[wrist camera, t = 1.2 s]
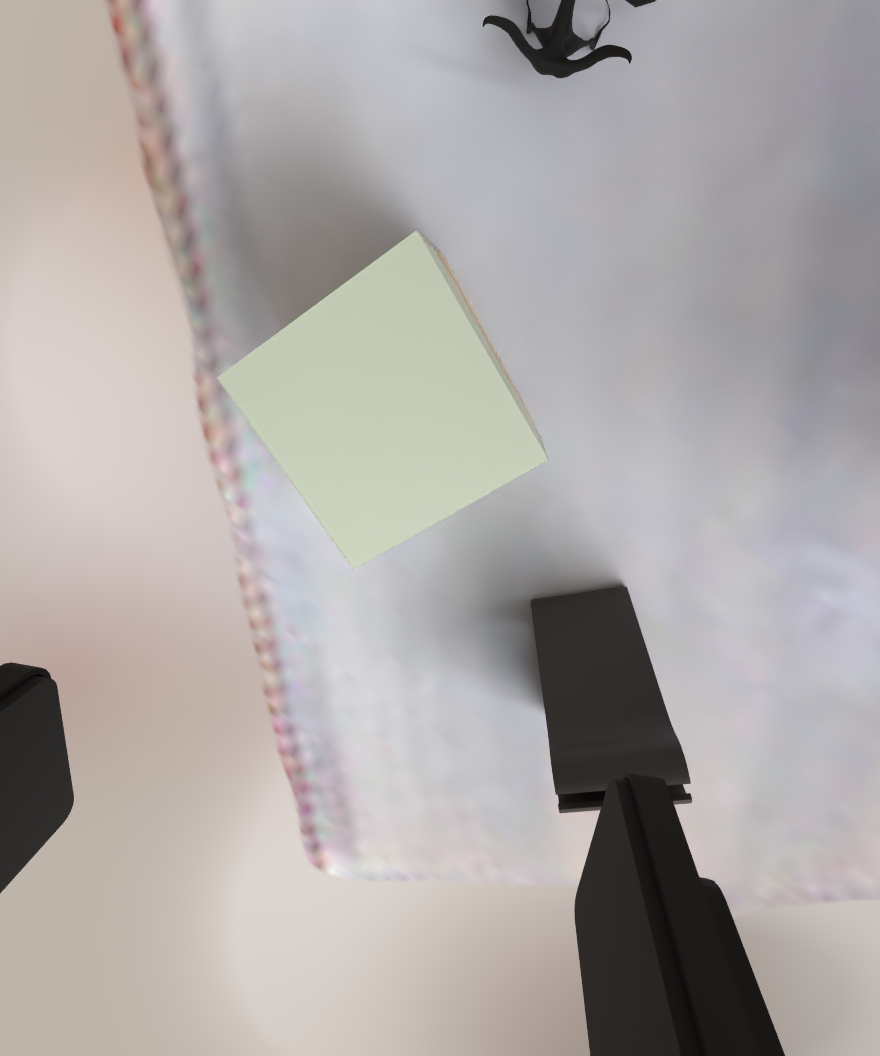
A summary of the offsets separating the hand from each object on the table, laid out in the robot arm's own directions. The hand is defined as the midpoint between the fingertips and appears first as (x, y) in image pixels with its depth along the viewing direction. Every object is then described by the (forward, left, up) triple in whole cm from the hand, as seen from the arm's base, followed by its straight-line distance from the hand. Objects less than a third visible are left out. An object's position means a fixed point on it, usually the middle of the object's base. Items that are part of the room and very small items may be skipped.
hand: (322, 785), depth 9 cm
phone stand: (-1, +16, -26) cm, 30 cm away
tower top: (0, -4, -21) cm, 21 cm away
